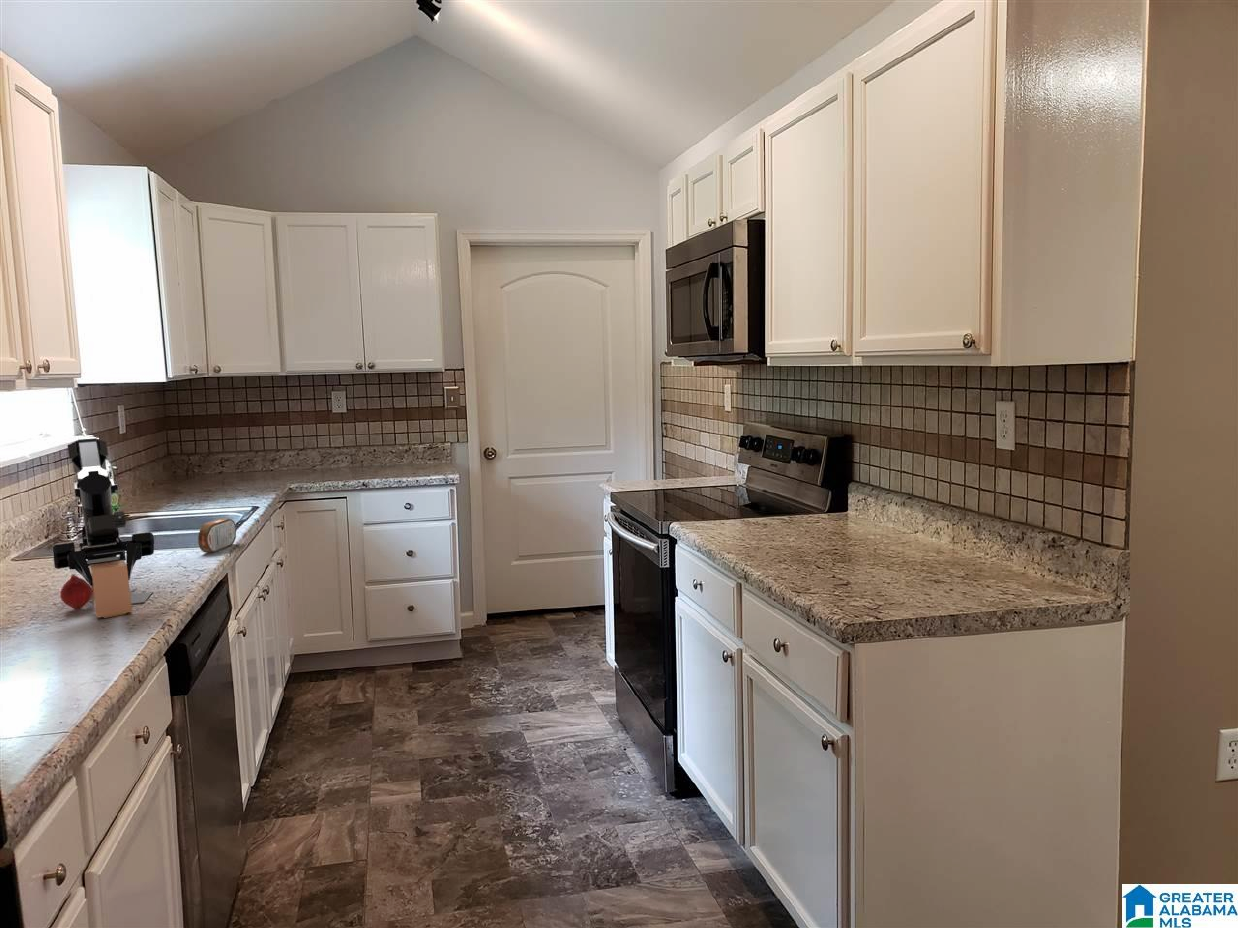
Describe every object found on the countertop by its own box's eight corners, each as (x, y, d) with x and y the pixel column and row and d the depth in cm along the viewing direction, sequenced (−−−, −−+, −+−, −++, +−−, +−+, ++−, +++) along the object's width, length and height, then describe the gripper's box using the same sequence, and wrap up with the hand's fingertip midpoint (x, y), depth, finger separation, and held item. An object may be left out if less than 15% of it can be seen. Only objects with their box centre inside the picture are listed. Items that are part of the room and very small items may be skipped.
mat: (109, 597, 205) (109, 596, 205) (152, 593, 207) (152, 591, 207) (98, 608, 196) (98, 606, 196) (144, 603, 198) (143, 601, 198)
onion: (99, 605, 198) (94, 569, 197) (84, 612, 193) (80, 576, 192) (72, 606, 198) (67, 571, 197) (57, 614, 193) (52, 577, 191)
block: (102, 614, 192) (100, 598, 191) (123, 610, 194) (121, 594, 193) (103, 618, 188) (101, 602, 188) (125, 614, 191) (123, 598, 190)
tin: (229, 543, 260) (226, 515, 259) (239, 543, 260) (236, 514, 259) (198, 555, 246) (195, 525, 244) (209, 555, 245) (206, 525, 244)
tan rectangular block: (94, 610, 192) (89, 564, 191) (128, 604, 195) (123, 559, 194) (97, 617, 187) (91, 570, 185) (132, 611, 190) (126, 565, 189)
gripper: (47, 506, 186) (56, 568, 178) (148, 494, 196) (160, 552, 189) (50, 537, 194) (59, 598, 186) (147, 525, 204) (159, 582, 196)
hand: (110, 582), depth 189 cm, fingers closed on tan rectangular block, 6 cm apart
